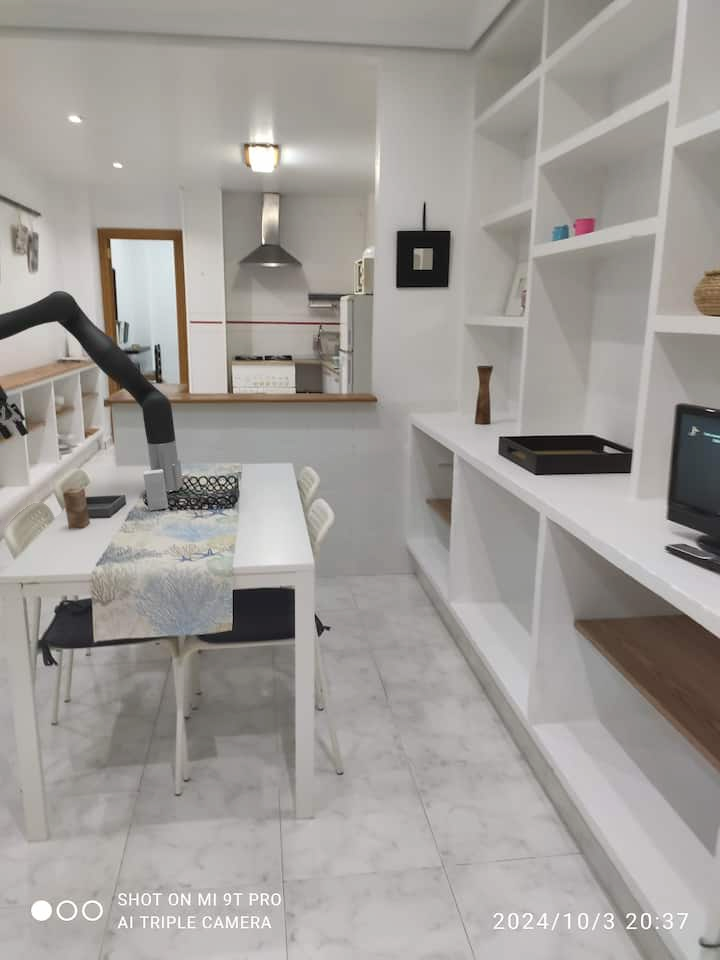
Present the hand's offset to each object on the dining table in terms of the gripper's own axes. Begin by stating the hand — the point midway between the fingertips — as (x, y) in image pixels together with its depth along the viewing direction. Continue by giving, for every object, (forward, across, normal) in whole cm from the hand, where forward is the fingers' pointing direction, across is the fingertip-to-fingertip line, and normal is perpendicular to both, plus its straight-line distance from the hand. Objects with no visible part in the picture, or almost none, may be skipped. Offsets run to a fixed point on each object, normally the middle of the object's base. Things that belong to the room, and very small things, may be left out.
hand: (17, 436), depth 213 cm
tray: (+32, +6, -6) cm, 33 cm away
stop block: (+33, -8, -6) cm, 35 cm away
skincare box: (+40, +8, -23) cm, 47 cm away
